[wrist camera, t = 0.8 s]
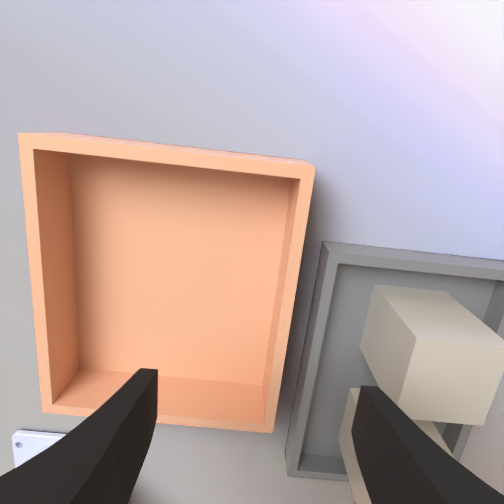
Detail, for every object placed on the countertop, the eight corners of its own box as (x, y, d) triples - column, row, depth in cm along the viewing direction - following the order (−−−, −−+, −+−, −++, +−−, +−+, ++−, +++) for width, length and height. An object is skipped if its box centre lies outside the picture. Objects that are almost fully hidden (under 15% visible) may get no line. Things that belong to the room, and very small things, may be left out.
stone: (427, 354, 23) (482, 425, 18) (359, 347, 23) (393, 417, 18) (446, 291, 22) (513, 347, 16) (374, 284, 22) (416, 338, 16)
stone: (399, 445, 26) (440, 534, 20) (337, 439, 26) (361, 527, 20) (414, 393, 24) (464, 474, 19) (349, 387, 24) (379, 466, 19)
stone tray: (434, 465, 27) (447, 490, 25) (284, 451, 27) (287, 476, 25) (506, 260, 22) (529, 273, 20) (322, 241, 22) (329, 251, 20)
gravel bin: (269, 387, 25) (272, 433, 21) (74, 368, 25) (42, 412, 21) (304, 160, 20) (315, 166, 16) (63, 132, 20) (17, 132, 16)
